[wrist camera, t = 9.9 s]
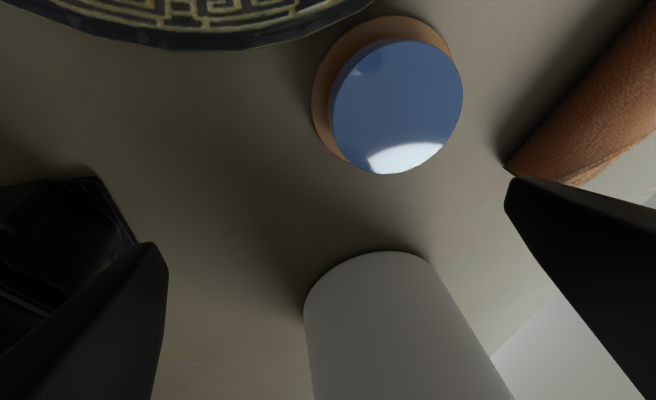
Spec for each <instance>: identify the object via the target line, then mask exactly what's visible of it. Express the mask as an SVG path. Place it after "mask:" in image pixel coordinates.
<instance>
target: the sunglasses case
mask: <svg viewBox="0 0 656 400" xmlns="http://www.w3.org/2000/svg"><path fill="white" fill-rule="evenodd" d="M655 132H656V0H652V1H651V2H650V3H649V4H648V5H647V6H645V7H644V8H643V9H642V10H641V12H640V13H639V14H638V15H637V16H636V17H635V19H634V20H633V21H632V22H631V23H630V24H629V26H628V27H627V28H626V29H625V30H624V31H623V32H622V33H621V34H620V35H619V37H618V38H617V39H616V40H615V41H614V42H613V43H612V45H611V46H610V47H609V48H608V49H607V50H606V52H605V53H604V54H603V55H602V57H601V58H600V59H599V60H598V61H597V63H596V64H595V65H594V66H593V67H592V69H591V70H590V71H589V72H588V74H587V75H586V76H585V77H584V78H583V79H582V80H581V81H580V82H579V83H578V84H577V85H576V86H575V87H574V88H573V90H572V91H571V92H570V93H569V94H568V95H567V96H566V97H565V99H564V100H563V101H562V102H561V103H560V104H559V106H558V107H557V108H556V109H555V110H554V111H553V113H552V114H551V115H550V116H549V117H548V118H547V119H546V121H545V122H544V123H543V124H542V125H541V126H540V127H539V128H538V129H537V131H536V132H535V133H534V134H533V135H532V136H531V137H530V138H529V139H528V141H527V142H526V143H525V144H524V145H523V146H522V148H521V149H520V150H519V151H518V152H517V153H516V154H515V155H514V156H513V157H512V158H511V159H510V161H509V162H508V164H507V165H506V166H504V167H503V168H504V169H505V170H507V171H508V172H510V173H511V174H512V175H514V176H515V177H518V176H524V175H532V176H536V177H539V178H543V179H547V180H550V181H554V182H558V183H561V184H565V185H569V186H572V187H576V188H579V187H580V186H582V185H584V184H585V183H587V182H589V181H590V180H591V179H593V178H594V177H595V176H597V175H598V174H599V173H601V172H602V171H603V170H604V169H606V168H607V167H608V166H610V165H611V164H612V163H613V162H614V161H616V160H617V159H618V158H620V157H621V156H622V155H623V154H624V153H626V152H627V151H628V150H629V149H631V148H632V147H634V146H635V145H637V144H638V143H640V142H642V141H643V140H645V139H646V138H648V137H649V136H651V135H652V134H653V133H655Z"/></svg>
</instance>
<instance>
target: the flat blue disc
mask: <svg viewBox="0 0 656 400" xmlns="http://www.w3.org/2000/svg"><path fill="white" fill-rule="evenodd" d="M462 99H463V90H462V83H461V79H460V76H459V72H458V70H457V68H456V66H455V64H454V63H453V62H452V60H451V59H450V58H449V57H448V56H447V55H446V54H445V53H444V52H443V51H442V50H440V49H439V48H437V47H435V46H433V45H431V44H429V43H426V42H423V41H421V40H418V39H414V38H411V37H403V36H397V37H388V38H384V39H380V40H378V41H375V42H373V43H371V44H369V45H367V46H365V47H363V48H362V49H361V50H359V51H358V52H356V53H355V54H354V55H353V56H352V57H351V58H350V59H349V60H348V61H347V62H346V63H345V65H344V66H343V67H342V69H341V70H340V72H339V73H338V75H337V77H336V79H335V81H334V82H333V85H332V88H331V91H330V95H329V99H328V107H327V115H328V123H329V127H330V130H331V133H332V135H333V137H334V139H335V142H336V144H337V146H338V148H339V149H340V151H341V152H342V154H343V155H344V156H345V158H346V159H347V160H348V161H349V162H351V163H352V164H353V165H355V166H356V167H358V168H360V169H362V170H364V171H367V172H371V173H375V174H396V173H400V172H404V171H407V170H410V169H412V168H415V167H417V166H419V165H420V164H422V163H424V162H425V161H427V160H428V159H429V158H431V157H432V156H433V155H434V154H435V153H437V152H438V151H439V150H440V148H441V147H442V146H443V145H444V144H445V143H446V141H447V140H448V139H449V137H450V135H451V134H452V132H453V130H454V128H455V126H456V124H457V122H458V119H459V116H460V112H461V108H462Z"/></svg>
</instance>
